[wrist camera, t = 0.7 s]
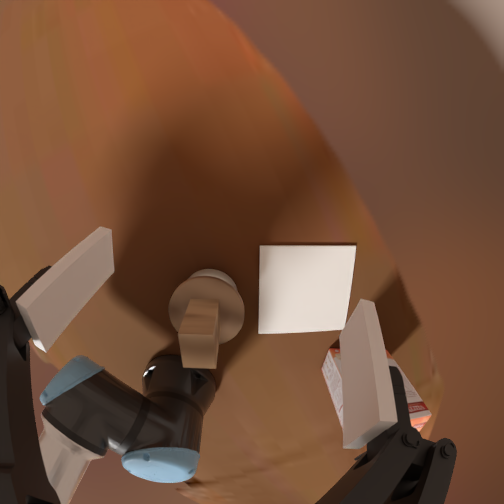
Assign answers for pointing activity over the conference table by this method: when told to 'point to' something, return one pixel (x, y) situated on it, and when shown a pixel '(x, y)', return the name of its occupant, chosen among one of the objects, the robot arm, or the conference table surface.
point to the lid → (205, 318)
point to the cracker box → (334, 384)
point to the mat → (304, 287)
